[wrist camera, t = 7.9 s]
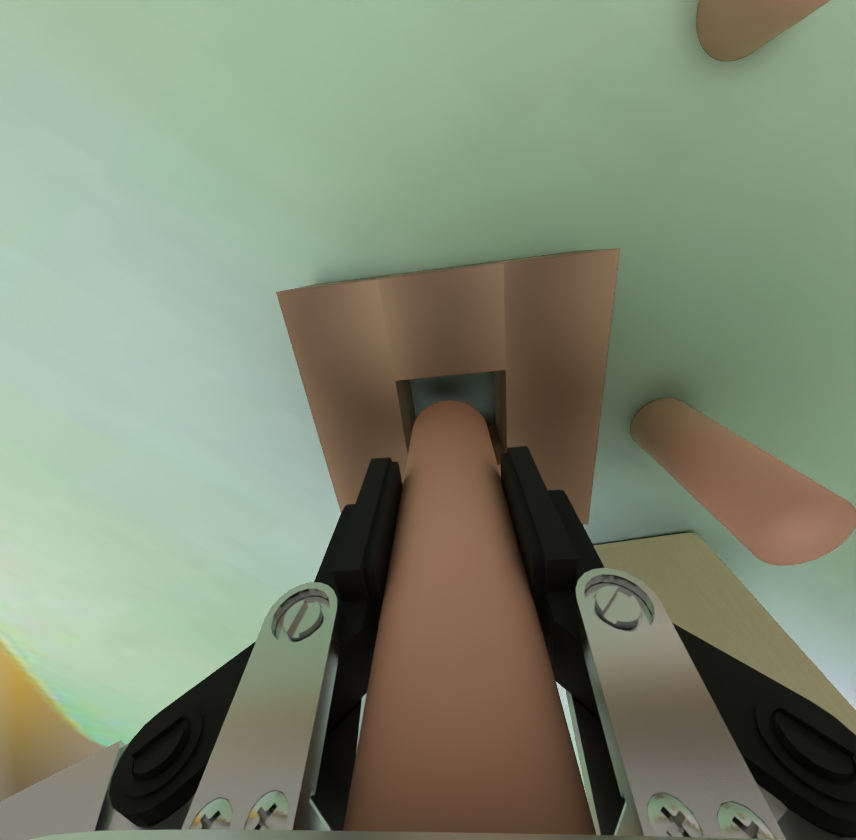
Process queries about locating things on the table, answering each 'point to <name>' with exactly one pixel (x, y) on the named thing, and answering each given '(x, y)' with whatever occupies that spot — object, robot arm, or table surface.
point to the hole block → (460, 359)
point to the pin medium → (744, 485)
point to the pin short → (746, 24)
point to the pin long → (461, 661)
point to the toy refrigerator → (722, 612)
